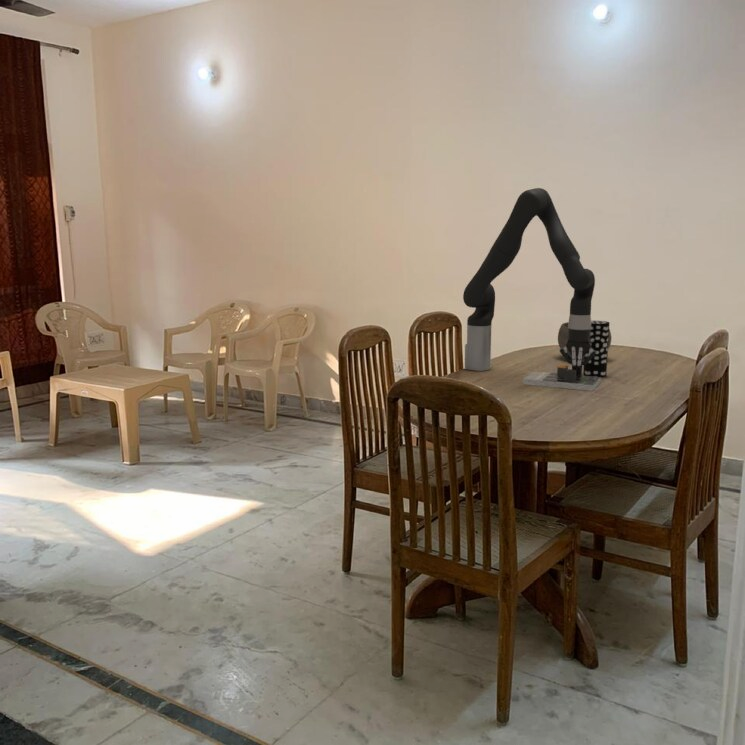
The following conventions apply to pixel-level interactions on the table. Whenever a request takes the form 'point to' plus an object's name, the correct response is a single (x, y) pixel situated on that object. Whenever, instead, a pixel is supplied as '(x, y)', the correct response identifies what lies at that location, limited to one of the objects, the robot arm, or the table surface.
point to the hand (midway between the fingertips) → (576, 376)
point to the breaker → (562, 370)
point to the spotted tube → (598, 350)
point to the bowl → (564, 337)
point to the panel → (563, 380)
